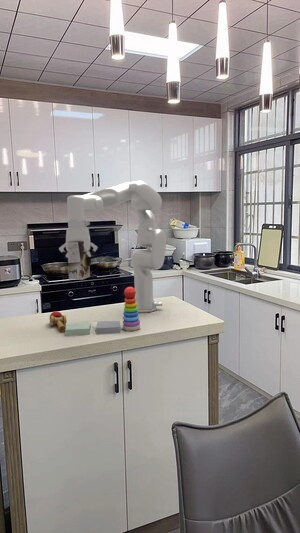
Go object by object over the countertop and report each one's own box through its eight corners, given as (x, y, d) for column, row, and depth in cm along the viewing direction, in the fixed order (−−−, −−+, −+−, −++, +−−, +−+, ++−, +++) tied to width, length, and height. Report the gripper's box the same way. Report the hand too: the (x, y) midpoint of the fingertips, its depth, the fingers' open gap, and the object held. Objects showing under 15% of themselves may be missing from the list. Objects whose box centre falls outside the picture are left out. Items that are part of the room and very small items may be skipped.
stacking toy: (120, 327, 167) (118, 286, 165) (136, 325, 170) (135, 284, 168) (125, 332, 160) (124, 289, 158) (143, 329, 163) (141, 287, 161)
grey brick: (120, 327, 170) (119, 320, 169) (120, 333, 160) (119, 326, 159) (97, 328, 169) (97, 321, 169) (96, 335, 159) (96, 328, 159)
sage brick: (91, 328, 169) (90, 322, 168) (89, 335, 159) (89, 328, 158) (68, 329, 168) (68, 323, 167) (65, 336, 158) (65, 329, 158)
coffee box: (82, 280, 158) (81, 241, 156) (68, 279, 159) (66, 241, 157) (90, 276, 166) (89, 240, 164) (76, 276, 168) (75, 240, 166)
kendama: (73, 333, 165) (64, 318, 181) (70, 320, 163) (61, 306, 179) (56, 339, 163) (48, 323, 178) (52, 326, 161) (45, 311, 176)
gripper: (98, 224, 164) (99, 264, 166) (57, 225, 163) (60, 265, 165) (97, 224, 157) (99, 266, 159) (55, 225, 155) (57, 267, 158)
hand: (79, 265), depth 162 cm, fingers closed on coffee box, 7 cm apart
